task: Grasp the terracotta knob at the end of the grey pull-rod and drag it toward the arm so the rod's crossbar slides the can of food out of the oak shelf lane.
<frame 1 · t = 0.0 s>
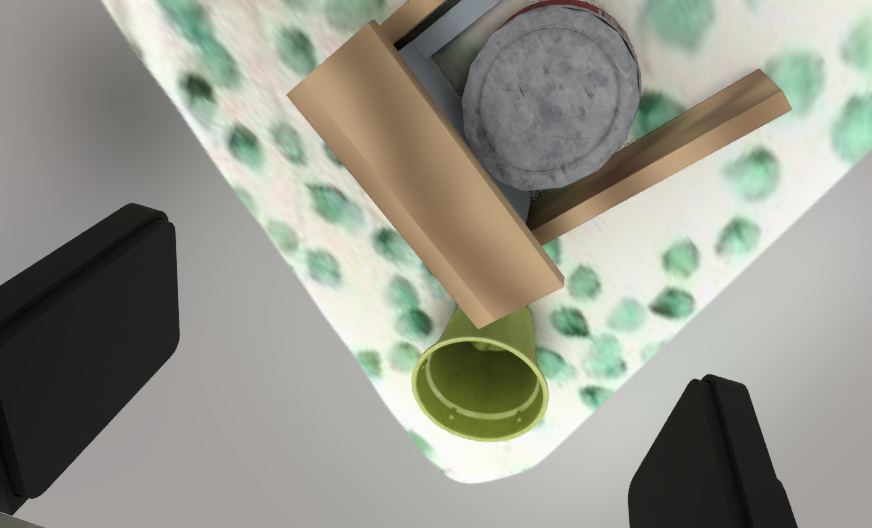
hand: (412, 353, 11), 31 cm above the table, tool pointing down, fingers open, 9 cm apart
pull rod: (649, 3, 31), point 4 cm above the table, slide at 0.0 cm
plant pot: (495, 318, 48), on the table
shelf lane: (561, 60, 37), on the table
canned food: (555, 80, 38), on the table
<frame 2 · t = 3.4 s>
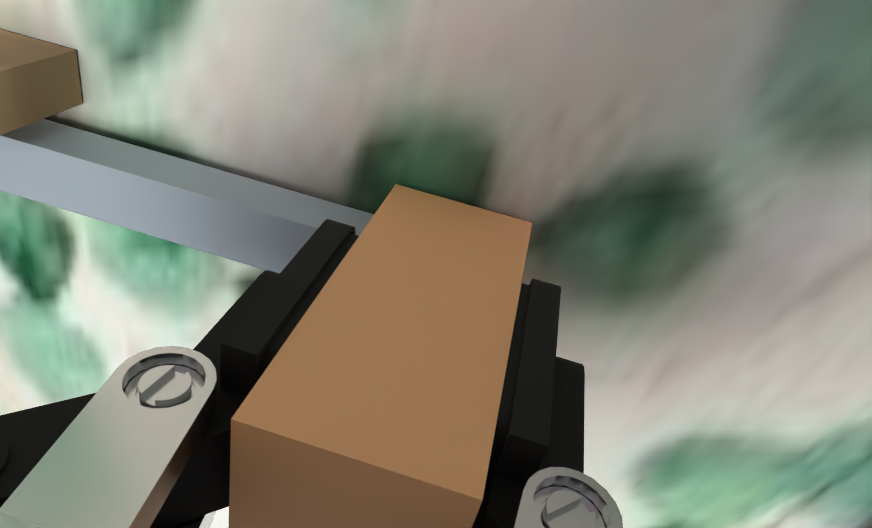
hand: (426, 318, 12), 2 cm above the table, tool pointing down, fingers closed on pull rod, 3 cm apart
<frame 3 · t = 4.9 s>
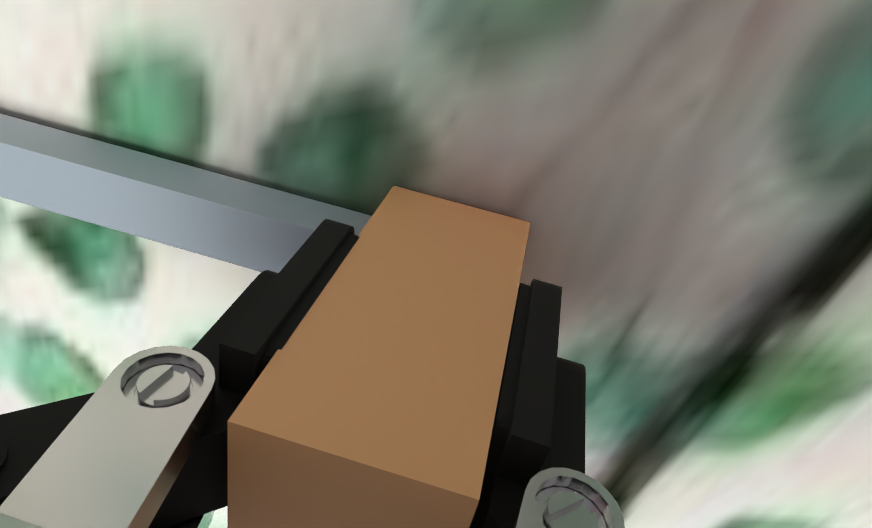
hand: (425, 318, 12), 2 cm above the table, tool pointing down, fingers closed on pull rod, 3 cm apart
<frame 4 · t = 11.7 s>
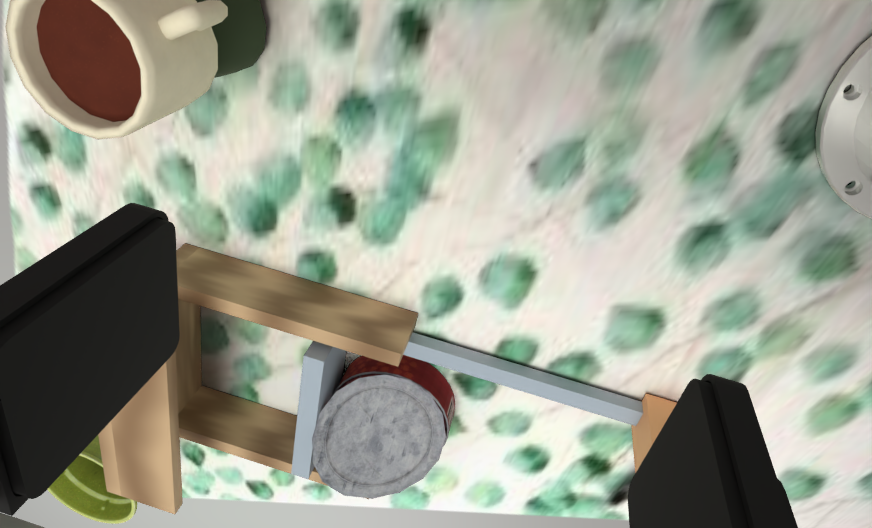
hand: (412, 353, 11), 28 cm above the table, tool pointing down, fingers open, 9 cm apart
pull rod: (478, 446, 46), point 4 cm above the table, slide at 10.5 cm
plant pot: (147, 416, 60), on the table
shelf lane: (299, 358, 51), on the table
character mug: (227, 17, 38), on the table
canned food: (399, 392, 51), on the table
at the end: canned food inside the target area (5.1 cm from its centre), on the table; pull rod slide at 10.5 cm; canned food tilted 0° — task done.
